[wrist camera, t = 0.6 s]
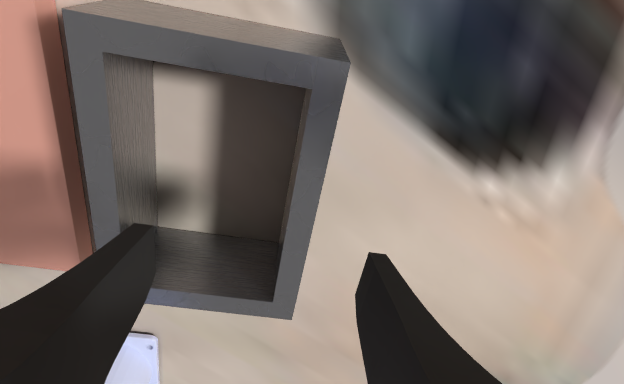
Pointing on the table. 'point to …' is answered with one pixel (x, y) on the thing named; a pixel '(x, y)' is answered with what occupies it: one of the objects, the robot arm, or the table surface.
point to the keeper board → (38, 144)
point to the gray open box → (141, 142)
